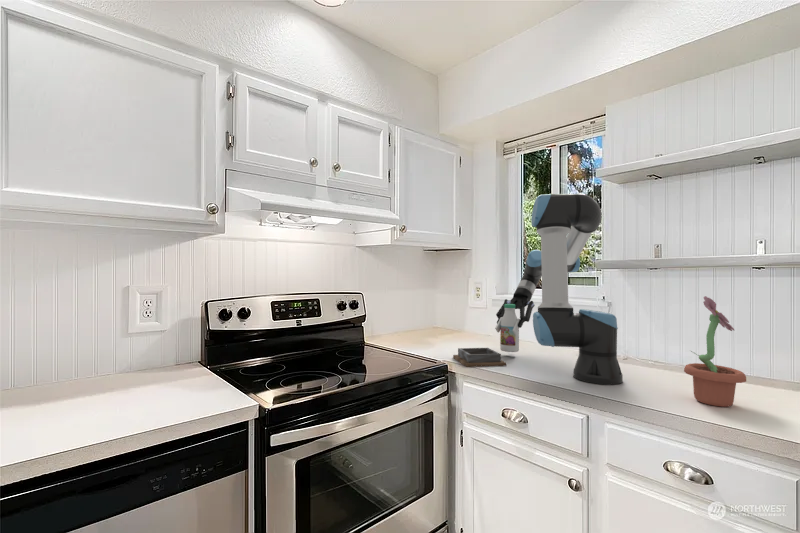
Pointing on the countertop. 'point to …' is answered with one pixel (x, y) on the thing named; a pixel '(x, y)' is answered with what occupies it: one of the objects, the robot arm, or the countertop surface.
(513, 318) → the milk bottle
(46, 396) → the countertop surface
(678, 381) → the countertop surface
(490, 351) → the square grey dish
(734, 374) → the decorative flower
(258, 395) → the countertop surface
